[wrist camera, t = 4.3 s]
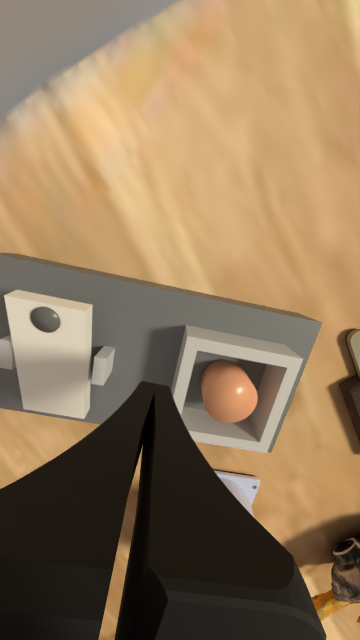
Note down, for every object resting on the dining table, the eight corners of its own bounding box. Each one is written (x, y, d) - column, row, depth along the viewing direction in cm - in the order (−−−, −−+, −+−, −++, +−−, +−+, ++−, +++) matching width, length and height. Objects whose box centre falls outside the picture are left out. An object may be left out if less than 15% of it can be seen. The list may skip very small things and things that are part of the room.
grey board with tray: (258, 426, 21) (285, 480, 16) (13, 384, 20) (-46, 429, 15) (299, 313, 18) (348, 333, 13) (16, 253, 17) (-58, 248, 12)
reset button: (239, 404, 17) (248, 426, 15) (195, 396, 17) (198, 418, 14) (251, 364, 16) (264, 381, 14) (206, 355, 16) (211, 371, 14)
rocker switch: (89, 408, 17) (83, 420, 16) (32, 398, 16) (22, 410, 15) (92, 304, 13) (84, 312, 12) (17, 289, 12) (2, 296, 11)
